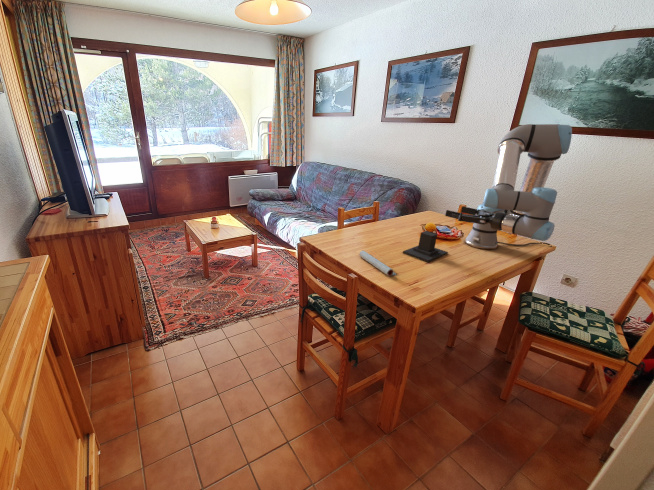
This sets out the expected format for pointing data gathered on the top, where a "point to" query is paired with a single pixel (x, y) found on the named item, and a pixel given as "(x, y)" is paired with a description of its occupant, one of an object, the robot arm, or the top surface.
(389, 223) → the top surface
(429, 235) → the black rectangular block
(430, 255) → the base pad
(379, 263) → the aluminum foil
